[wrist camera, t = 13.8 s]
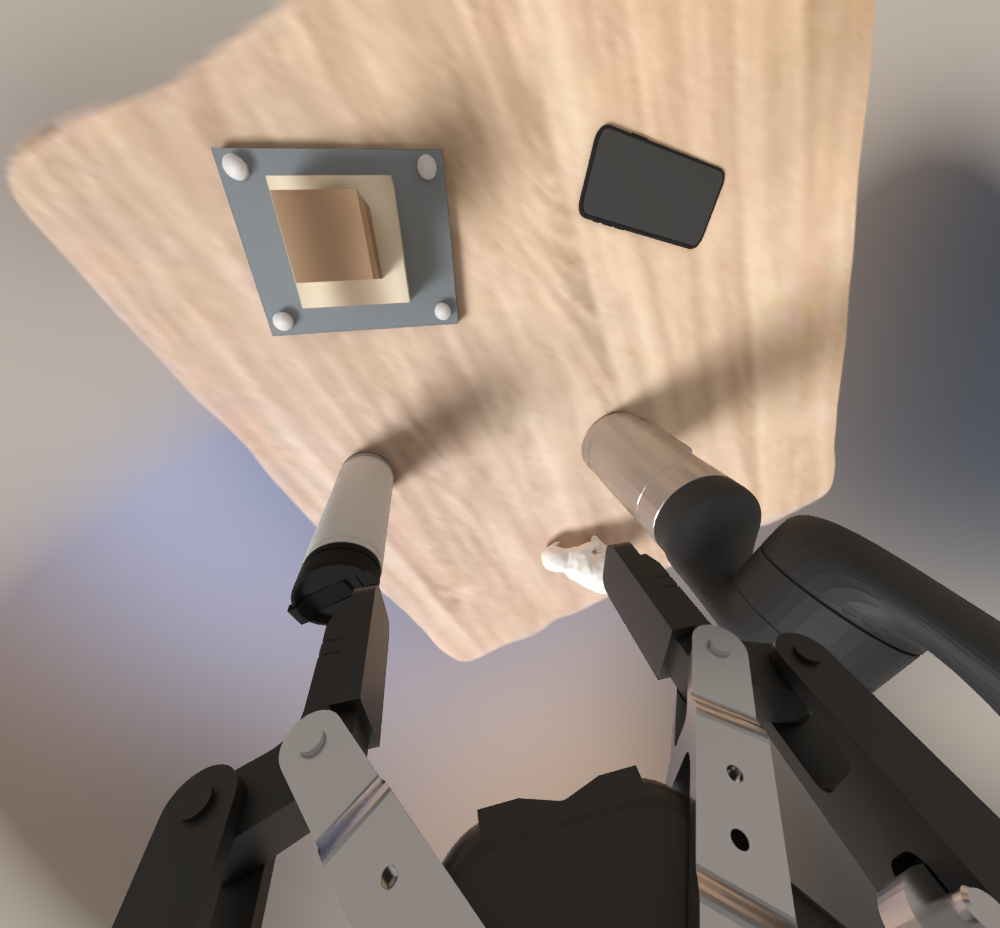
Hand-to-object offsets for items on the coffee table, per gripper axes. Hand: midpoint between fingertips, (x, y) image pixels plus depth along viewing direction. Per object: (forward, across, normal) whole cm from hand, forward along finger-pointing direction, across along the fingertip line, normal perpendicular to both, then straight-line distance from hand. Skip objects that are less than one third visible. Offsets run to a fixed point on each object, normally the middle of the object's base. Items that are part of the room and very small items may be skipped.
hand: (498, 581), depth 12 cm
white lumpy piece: (+32, -17, +30) cm, 47 cm away
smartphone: (+33, -23, -16) cm, 43 cm away
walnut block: (+27, +7, -12) cm, 30 cm away
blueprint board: (+32, +7, -12) cm, 35 cm away
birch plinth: (+31, +7, -12) cm, 34 cm away
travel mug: (+32, +11, +12) cm, 36 cm away
